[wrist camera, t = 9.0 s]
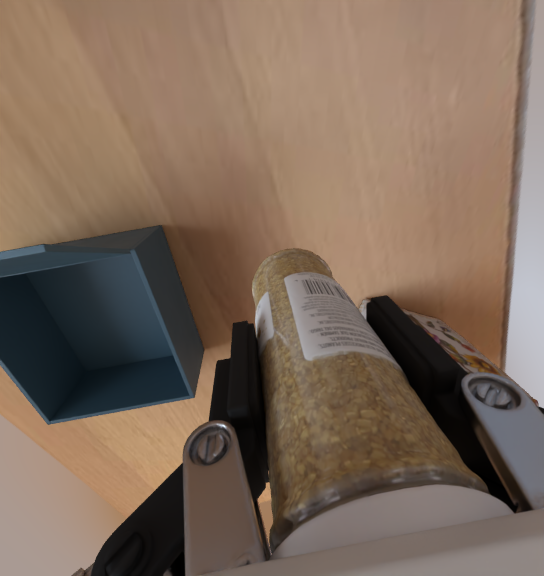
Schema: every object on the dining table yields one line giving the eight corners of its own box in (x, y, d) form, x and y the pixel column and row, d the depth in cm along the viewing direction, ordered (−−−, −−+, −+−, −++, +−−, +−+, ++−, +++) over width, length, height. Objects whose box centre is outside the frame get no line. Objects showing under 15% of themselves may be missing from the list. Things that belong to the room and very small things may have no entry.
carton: (11, 251, 27) (-66, 284, 20) (161, 224, 27) (134, 248, 20) (86, 371, 34) (47, 424, 27) (204, 350, 34) (194, 397, 27)
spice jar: (235, 289, 15) (194, 799, 3) (291, 227, 14) (572, 695, 2) (293, 331, 17) (412, 777, 5) (348, 280, 16) (694, 710, 4)
